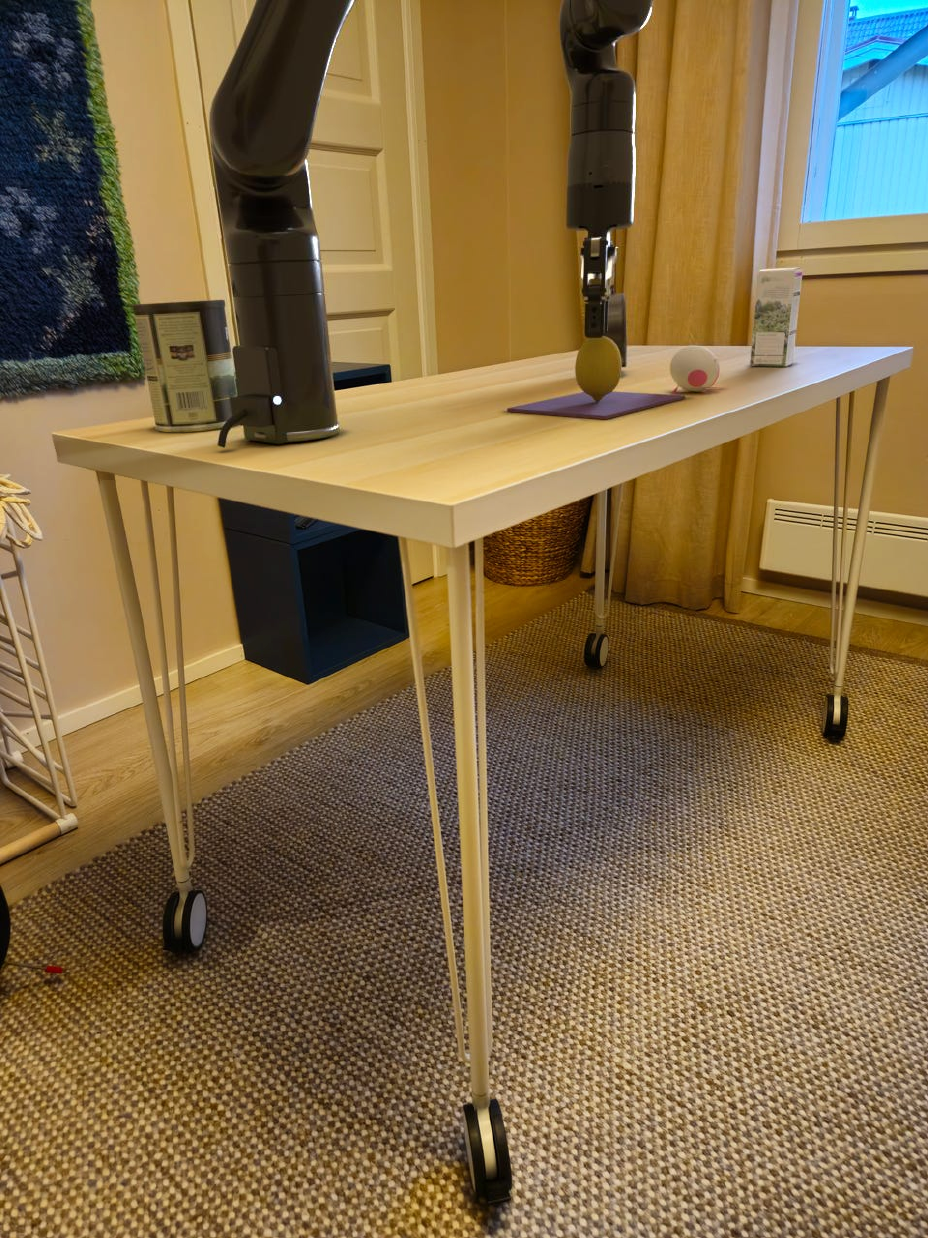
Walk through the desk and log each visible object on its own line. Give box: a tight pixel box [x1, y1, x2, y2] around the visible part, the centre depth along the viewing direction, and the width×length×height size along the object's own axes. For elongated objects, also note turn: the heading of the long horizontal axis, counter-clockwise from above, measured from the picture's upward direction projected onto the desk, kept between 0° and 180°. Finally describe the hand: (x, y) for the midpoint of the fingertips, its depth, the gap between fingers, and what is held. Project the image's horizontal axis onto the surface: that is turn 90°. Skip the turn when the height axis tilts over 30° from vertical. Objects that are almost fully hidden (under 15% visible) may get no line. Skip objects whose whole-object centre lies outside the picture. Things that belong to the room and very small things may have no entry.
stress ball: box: [669, 345, 721, 394], centre depth 108 cm, size 8×8×7 cm
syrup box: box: [749, 266, 803, 367], centre depth 131 cm, size 6×6×14 cm
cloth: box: [506, 390, 686, 420], centre depth 101 cm, size 18×14×1 cm
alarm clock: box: [603, 283, 628, 368], centre depth 129 cm, size 11×5×16 cm, turn 168°
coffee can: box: [131, 299, 238, 433], centre depth 98 cm, size 10×10×14 cm
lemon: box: [574, 336, 623, 402], centre depth 100 cm, size 6×6×8 cm
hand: (596, 335), depth 98 cm, fingers open, 8 cm apart
